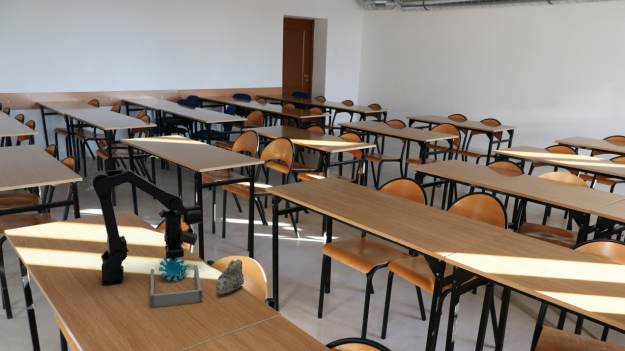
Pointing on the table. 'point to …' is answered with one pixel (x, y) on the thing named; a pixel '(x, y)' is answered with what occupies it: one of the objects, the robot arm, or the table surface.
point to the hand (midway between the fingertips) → (174, 265)
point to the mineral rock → (230, 278)
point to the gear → (173, 268)
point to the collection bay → (176, 294)
